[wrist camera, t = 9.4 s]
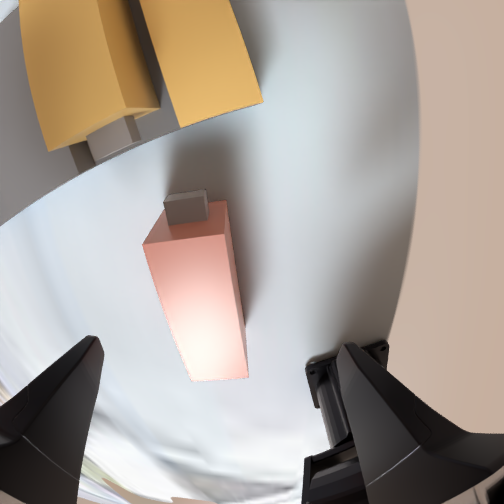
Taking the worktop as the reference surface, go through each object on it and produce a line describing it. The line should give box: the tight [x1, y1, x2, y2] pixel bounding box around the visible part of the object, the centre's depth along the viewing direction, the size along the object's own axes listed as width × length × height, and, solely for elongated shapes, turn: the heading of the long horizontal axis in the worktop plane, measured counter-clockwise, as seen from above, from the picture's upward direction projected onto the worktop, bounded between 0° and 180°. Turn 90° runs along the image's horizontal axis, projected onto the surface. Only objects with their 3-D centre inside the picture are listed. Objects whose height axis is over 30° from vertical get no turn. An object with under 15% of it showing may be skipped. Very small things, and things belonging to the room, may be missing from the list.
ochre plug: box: [19, 0, 161, 161], centre depth 7 cm, size 9×3×4 cm, turn 16°
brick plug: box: [142, 189, 249, 381], centre depth 13 cm, size 9×3×4 cm, turn 6°
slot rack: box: [0, 0, 263, 226], centre depth 8 cm, size 10×20×3 cm, turn 106°
